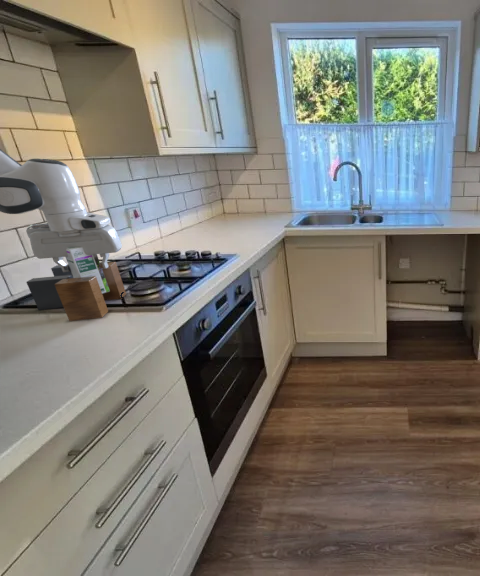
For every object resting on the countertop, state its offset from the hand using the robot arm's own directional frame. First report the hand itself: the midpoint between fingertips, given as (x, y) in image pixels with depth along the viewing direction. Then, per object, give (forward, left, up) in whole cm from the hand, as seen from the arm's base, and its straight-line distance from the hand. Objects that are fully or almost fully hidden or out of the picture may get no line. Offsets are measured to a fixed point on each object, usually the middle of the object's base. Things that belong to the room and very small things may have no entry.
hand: (86, 269), depth 103 cm
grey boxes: (-12, +10, -12) cm, 20 cm away
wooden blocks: (0, 0, -12) cm, 12 cm away
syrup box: (0, 0, -8) cm, 8 cm away
